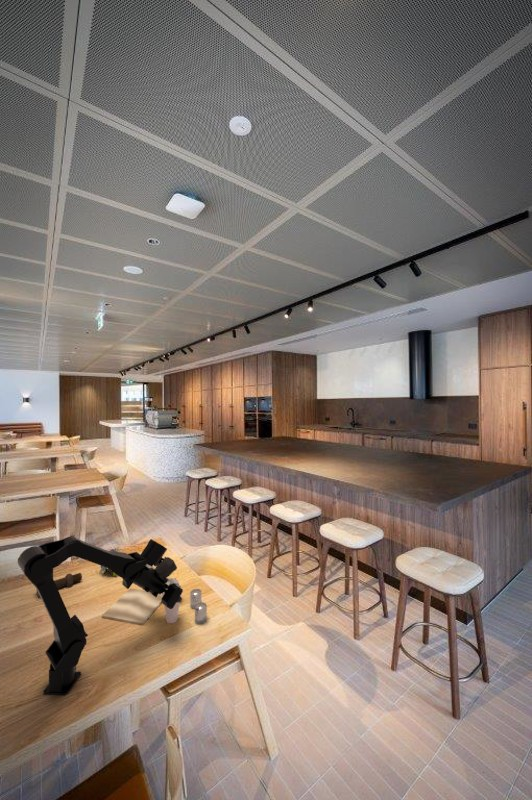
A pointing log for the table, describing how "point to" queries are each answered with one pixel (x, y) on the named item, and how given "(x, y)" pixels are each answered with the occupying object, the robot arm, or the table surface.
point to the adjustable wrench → (167, 578)
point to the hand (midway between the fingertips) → (175, 596)
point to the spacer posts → (198, 606)
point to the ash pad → (134, 607)
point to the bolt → (67, 580)
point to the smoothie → (172, 611)
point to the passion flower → (106, 567)
